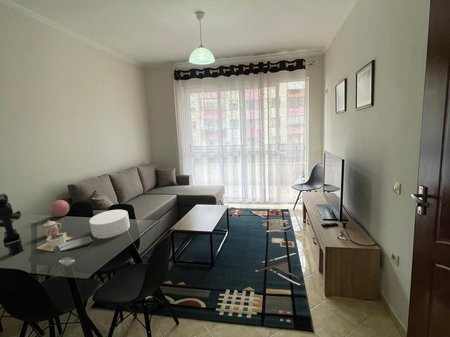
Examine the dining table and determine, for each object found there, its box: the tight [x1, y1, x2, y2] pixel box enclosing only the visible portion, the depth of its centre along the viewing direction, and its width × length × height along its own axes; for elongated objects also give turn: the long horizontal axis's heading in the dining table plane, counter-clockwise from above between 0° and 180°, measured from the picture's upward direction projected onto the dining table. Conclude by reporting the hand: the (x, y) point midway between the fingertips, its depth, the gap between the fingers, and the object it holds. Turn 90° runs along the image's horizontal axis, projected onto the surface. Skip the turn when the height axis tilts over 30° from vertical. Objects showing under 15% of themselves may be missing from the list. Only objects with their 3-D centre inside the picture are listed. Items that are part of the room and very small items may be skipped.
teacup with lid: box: [42, 220, 62, 238], centre depth 204 cm, size 12×9×12 cm
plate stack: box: [88, 209, 131, 239], centre depth 203 cm, size 28×28×12 cm
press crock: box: [36, 232, 72, 252], centre depth 187 cm, size 18×18×6 cm
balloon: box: [45, 199, 70, 218], centre depth 239 cm, size 15×20×15 cm
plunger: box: [51, 232, 60, 239], centre depth 186 cm, size 8×8×6 cm
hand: (10, 231), depth 187 cm, fingers closed
